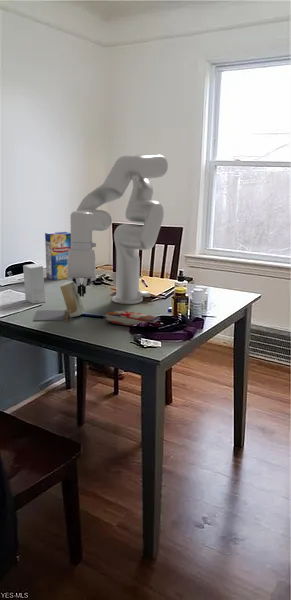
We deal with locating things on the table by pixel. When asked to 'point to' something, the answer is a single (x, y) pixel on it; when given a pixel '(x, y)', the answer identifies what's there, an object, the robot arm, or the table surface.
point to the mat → (50, 315)
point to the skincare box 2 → (72, 299)
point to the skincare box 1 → (34, 283)
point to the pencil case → (129, 318)
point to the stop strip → (66, 315)
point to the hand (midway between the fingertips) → (81, 295)
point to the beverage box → (57, 254)
